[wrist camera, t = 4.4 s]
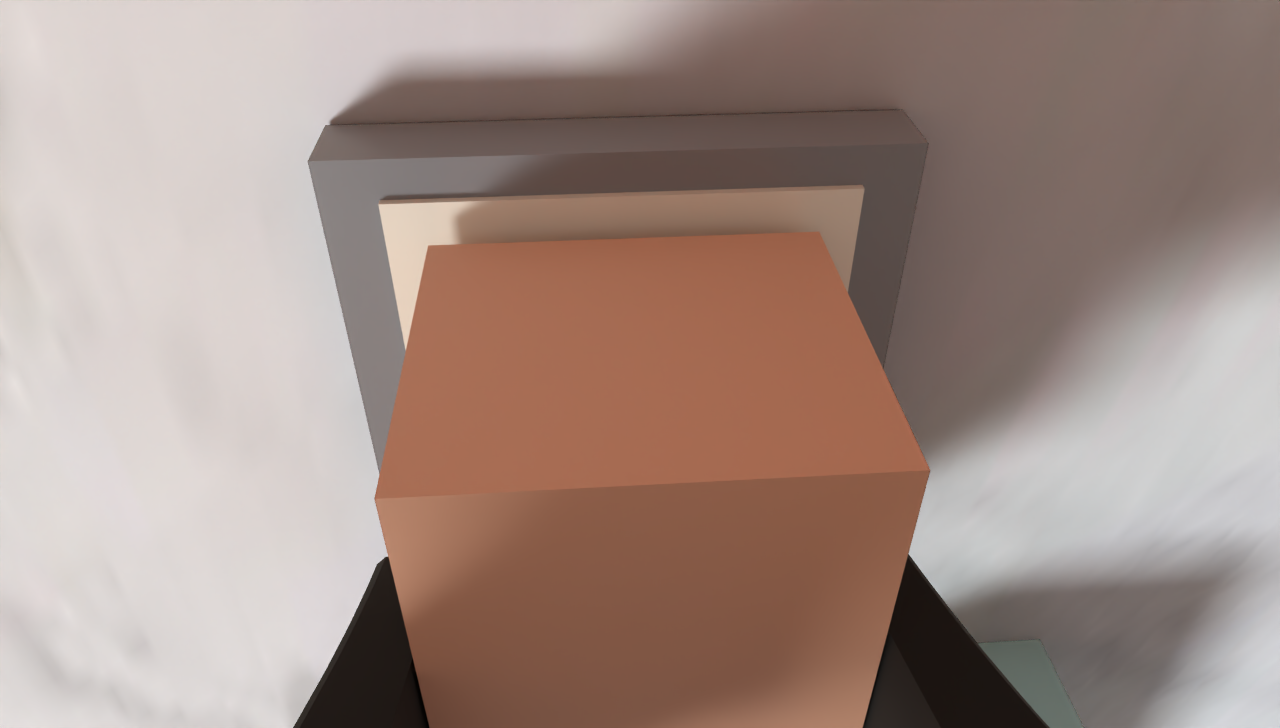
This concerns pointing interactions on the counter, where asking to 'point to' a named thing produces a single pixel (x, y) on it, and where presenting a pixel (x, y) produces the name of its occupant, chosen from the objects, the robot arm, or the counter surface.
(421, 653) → the terracotta brick
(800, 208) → the baseplate
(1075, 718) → the teal brick
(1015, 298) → the counter surface
